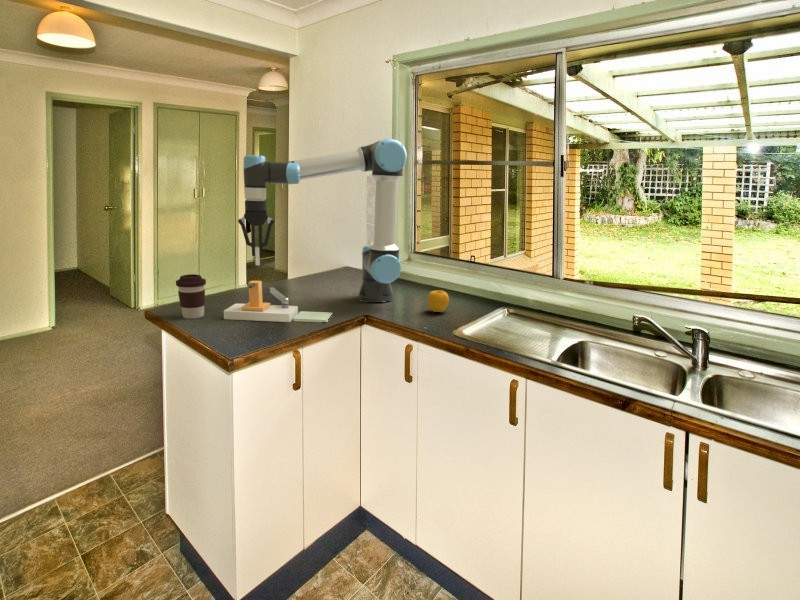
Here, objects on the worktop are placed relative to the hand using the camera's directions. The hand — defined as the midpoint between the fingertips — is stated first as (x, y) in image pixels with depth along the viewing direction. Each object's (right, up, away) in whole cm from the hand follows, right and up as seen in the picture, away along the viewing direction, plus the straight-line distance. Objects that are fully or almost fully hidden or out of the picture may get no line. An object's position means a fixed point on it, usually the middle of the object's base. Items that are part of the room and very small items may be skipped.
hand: (257, 264), depth 186 cm
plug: (0, -19, -1) cm, 19 cm away
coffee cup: (-22, -19, -3) cm, 30 cm away
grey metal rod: (+6, -12, +8) cm, 16 cm away
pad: (+21, -20, -1) cm, 29 cm away
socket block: (+2, -19, -1) cm, 19 cm away
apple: (+68, -18, +11) cm, 71 cm away
